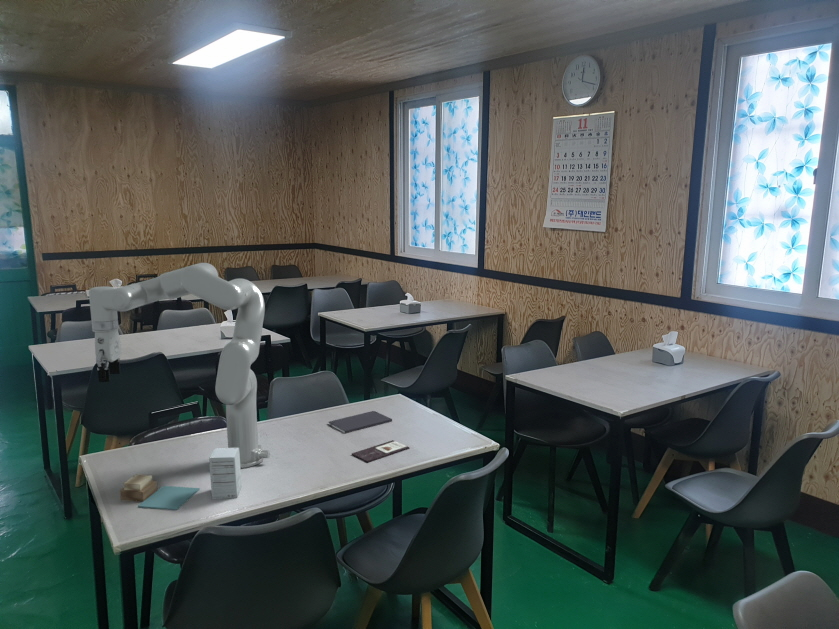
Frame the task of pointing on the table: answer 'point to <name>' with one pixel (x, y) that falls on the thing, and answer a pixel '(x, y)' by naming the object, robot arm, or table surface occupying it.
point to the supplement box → (225, 473)
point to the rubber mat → (169, 497)
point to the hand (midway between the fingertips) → (110, 377)
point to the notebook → (359, 421)
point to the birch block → (138, 482)
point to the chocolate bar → (380, 451)
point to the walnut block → (139, 493)
